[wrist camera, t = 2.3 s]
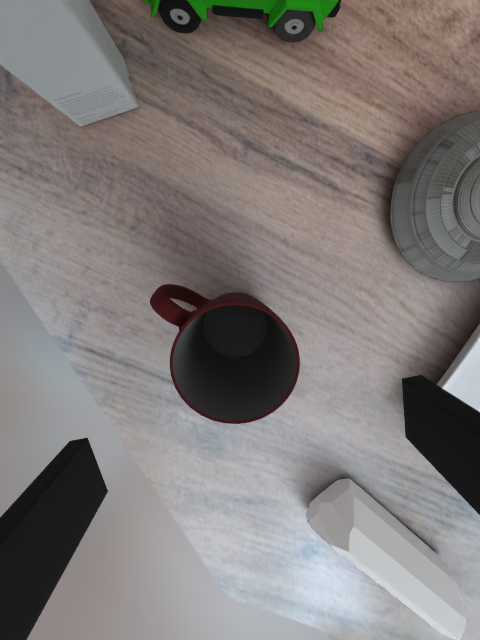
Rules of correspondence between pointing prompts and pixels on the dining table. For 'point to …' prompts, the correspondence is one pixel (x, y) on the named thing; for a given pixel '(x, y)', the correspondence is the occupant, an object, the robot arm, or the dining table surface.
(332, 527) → the crystal
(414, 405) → the robot arm
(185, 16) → the toy car
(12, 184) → the dining table surface
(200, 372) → the mug
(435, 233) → the flying saucer
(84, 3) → the cosmetic box
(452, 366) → the salad plate
